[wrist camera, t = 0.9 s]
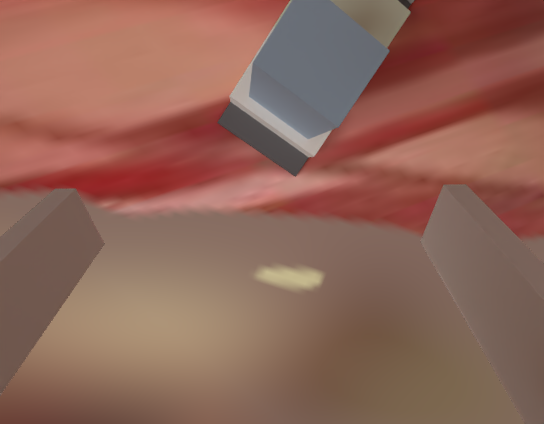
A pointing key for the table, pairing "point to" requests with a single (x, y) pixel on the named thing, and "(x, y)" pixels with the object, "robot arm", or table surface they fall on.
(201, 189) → the table surface
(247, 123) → the trap deck
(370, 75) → the block
